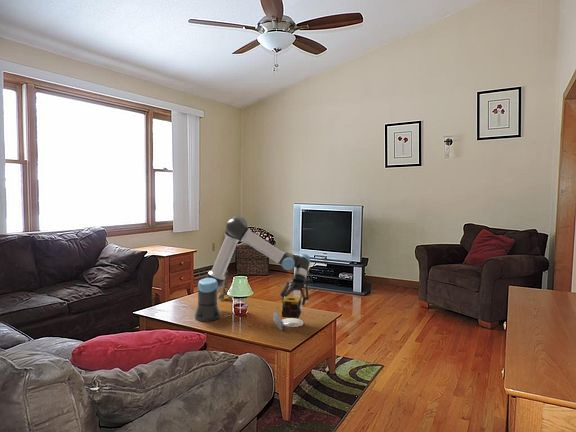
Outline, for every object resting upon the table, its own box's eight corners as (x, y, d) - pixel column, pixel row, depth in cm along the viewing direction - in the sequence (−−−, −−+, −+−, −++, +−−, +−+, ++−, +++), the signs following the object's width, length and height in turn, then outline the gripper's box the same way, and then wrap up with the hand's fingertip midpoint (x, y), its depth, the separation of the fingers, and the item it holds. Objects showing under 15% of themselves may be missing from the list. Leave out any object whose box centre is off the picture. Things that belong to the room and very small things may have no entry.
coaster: (283, 327, 232) (283, 326, 232) (277, 319, 245) (277, 318, 245) (306, 326, 235) (306, 325, 235) (299, 318, 249) (299, 317, 249)
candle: (298, 319, 231) (298, 302, 230) (281, 317, 233) (281, 300, 232) (301, 313, 241) (301, 297, 240) (284, 312, 243) (285, 296, 242)
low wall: (280, 330, 227) (280, 322, 227) (273, 320, 244) (273, 312, 244) (282, 330, 227) (282, 321, 227) (275, 320, 245) (275, 312, 244)
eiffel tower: (219, 301, 280) (220, 266, 279) (217, 297, 290) (217, 263, 288) (234, 300, 284) (235, 266, 282) (231, 296, 294) (232, 263, 292)
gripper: (318, 281, 249) (311, 313, 236) (284, 278, 257) (274, 309, 243) (316, 275, 244) (308, 307, 230) (281, 271, 251) (271, 302, 238)
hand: (291, 308), depth 237 cm, fingers closed on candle, 10 cm apart
